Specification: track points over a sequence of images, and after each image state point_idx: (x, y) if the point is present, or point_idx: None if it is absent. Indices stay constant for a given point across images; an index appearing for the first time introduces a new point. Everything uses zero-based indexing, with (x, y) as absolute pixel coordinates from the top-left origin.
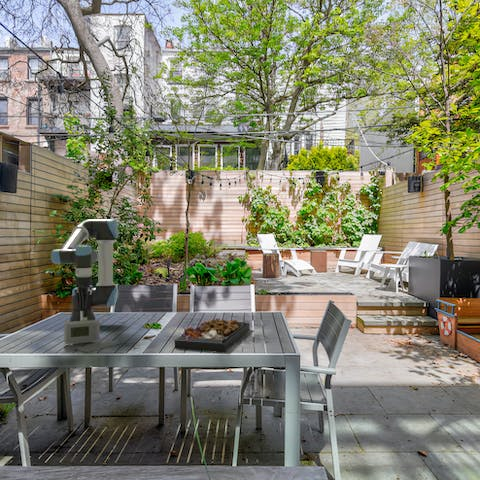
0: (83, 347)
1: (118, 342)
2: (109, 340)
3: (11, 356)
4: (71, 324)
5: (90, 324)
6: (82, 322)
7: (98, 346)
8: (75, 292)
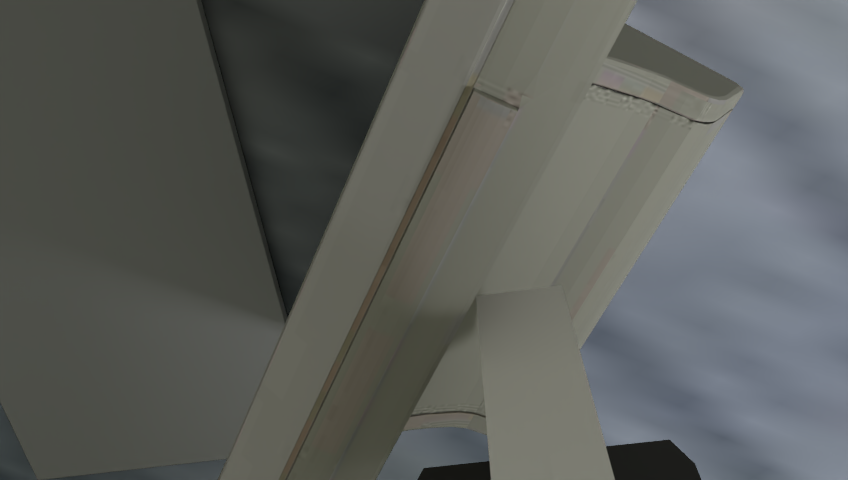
0: (118, 6)
1: (74, 470)
2: None
3: None
4: None
5: (249, 406)
6: (311, 287)
7: (28, 205)
8: None
